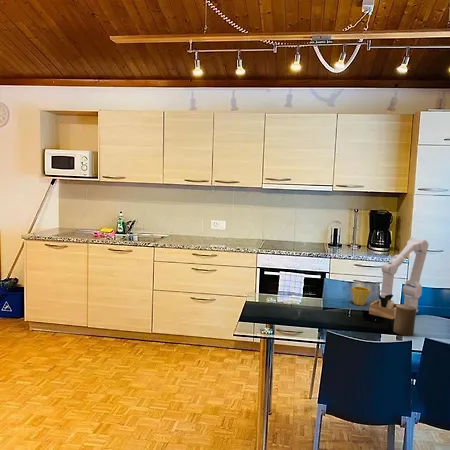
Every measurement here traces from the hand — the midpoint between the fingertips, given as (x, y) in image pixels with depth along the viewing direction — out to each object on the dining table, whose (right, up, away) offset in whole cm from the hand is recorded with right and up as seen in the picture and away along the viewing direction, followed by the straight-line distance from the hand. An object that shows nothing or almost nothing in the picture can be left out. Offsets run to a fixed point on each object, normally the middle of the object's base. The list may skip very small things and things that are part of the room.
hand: (384, 307), depth 270 cm
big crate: (0, -4, 0) cm, 4 cm away
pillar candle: (-1, -8, -30) cm, 31 cm away
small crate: (0, -2, 0) cm, 2 cm away
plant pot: (-9, -1, +19) cm, 21 cm away
